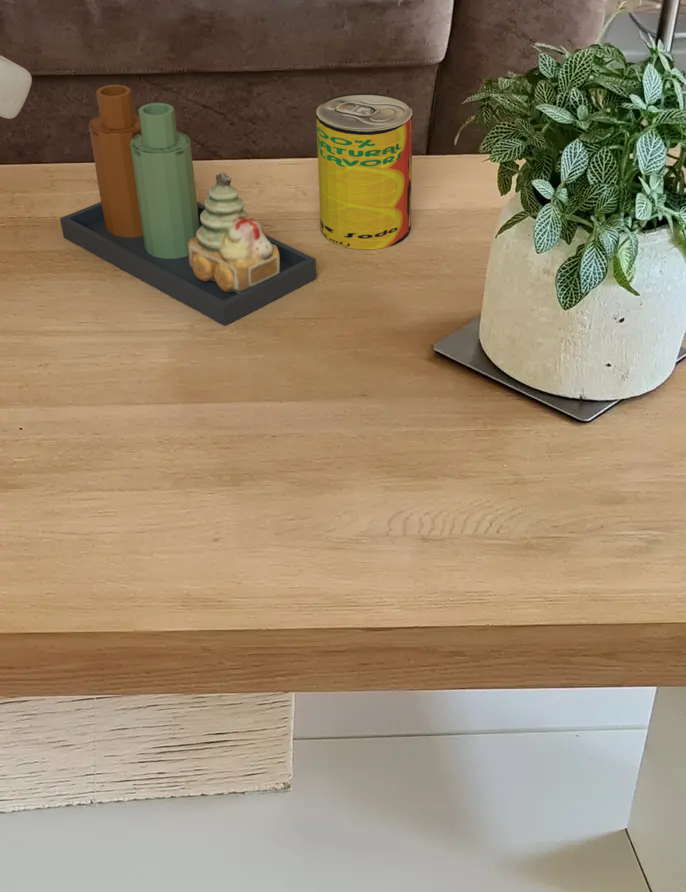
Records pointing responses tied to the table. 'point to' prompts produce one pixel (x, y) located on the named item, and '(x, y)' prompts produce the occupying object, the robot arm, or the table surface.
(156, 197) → the green bottle
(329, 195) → the beverage can
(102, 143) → the amber bottle
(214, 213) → the ornament
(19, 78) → the robot arm
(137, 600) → the table surface
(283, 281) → the tray
